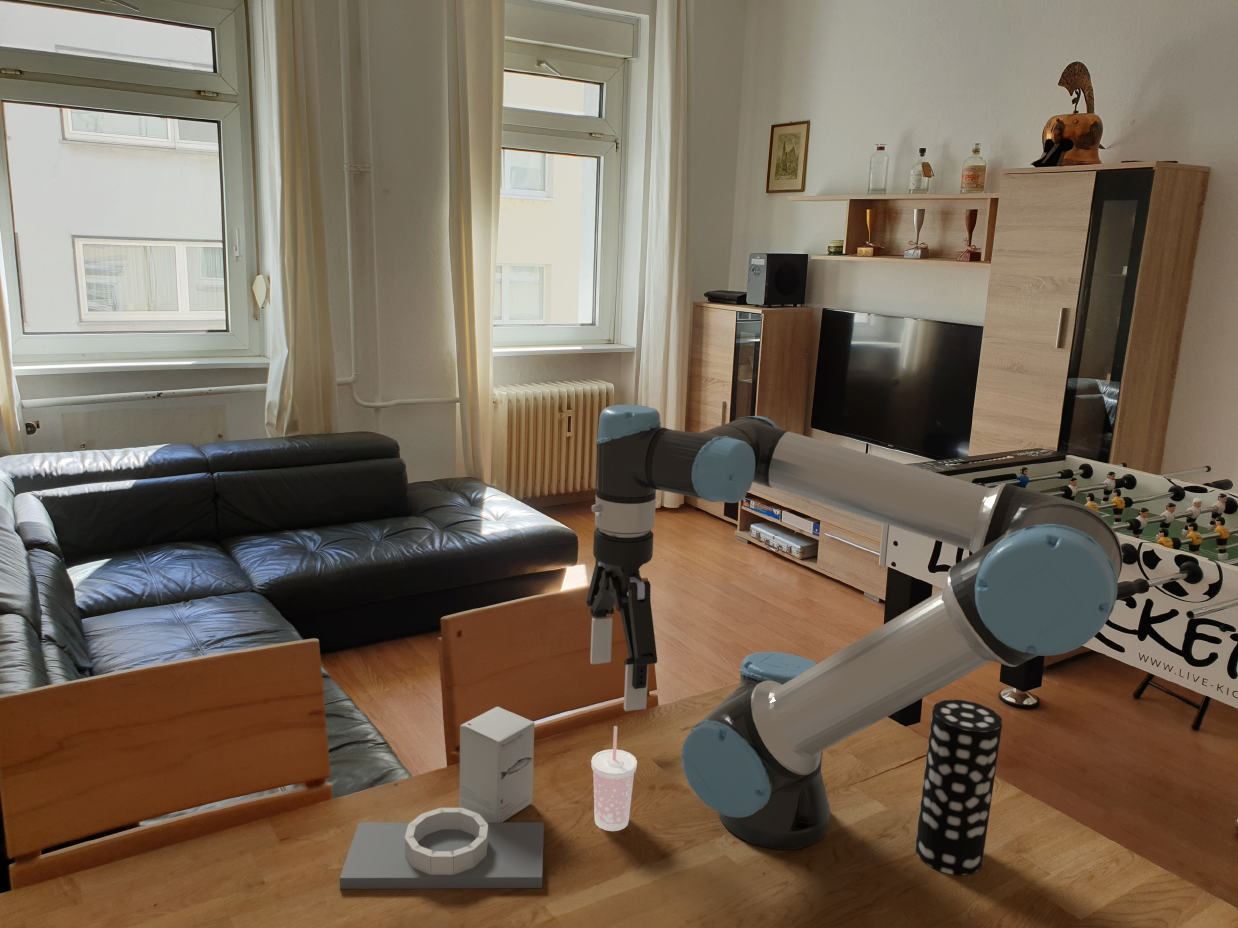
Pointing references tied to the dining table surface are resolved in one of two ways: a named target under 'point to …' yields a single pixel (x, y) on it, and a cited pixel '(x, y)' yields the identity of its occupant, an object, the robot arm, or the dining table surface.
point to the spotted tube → (958, 786)
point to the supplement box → (496, 764)
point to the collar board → (445, 853)
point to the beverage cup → (613, 786)
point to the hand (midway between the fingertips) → (616, 684)
